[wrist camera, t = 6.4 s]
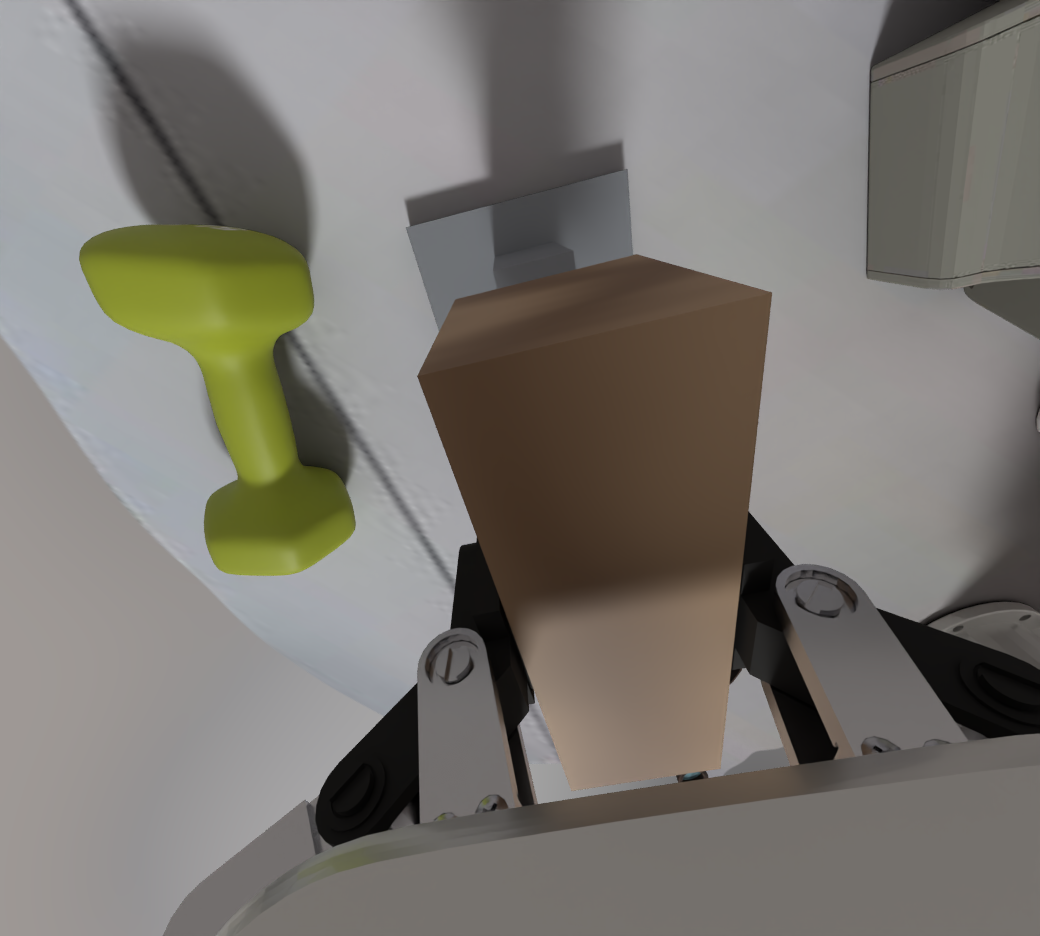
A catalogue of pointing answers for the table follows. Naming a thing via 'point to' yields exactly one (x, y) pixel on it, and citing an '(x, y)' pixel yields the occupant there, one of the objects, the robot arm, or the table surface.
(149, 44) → the table surface
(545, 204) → the display stand
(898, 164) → the digital clock
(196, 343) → the dumbbell
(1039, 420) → the flower vase
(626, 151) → the table surface
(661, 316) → the tan bar
